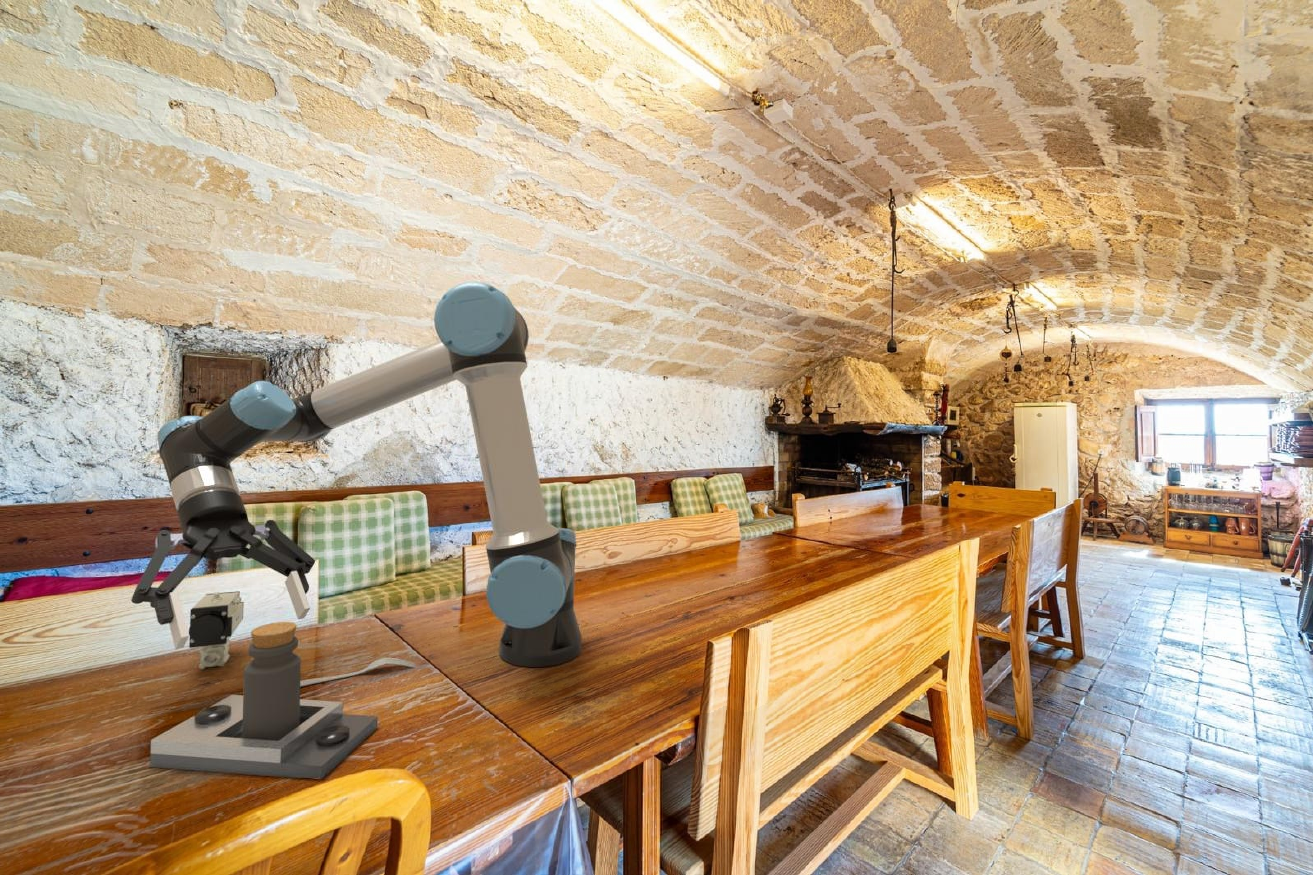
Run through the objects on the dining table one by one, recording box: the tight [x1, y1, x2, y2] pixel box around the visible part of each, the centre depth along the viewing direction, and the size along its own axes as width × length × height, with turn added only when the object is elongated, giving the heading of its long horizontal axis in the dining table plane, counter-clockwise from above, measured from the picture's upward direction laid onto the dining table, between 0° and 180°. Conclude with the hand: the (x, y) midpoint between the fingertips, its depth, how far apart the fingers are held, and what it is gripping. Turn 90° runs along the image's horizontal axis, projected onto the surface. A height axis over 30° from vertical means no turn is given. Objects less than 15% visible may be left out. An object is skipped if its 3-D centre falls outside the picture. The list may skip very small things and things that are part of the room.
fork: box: [300, 657, 416, 688], centre depth 87 cm, size 3×21×3 cm, turn 120°
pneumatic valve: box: [188, 590, 244, 670], centre depth 90 cm, size 6×12×12 cm, turn 28°
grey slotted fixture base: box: [149, 694, 379, 781], centre depth 67 cm, size 21×11×4 cm, turn 86°
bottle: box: [242, 621, 302, 741], centre depth 67 cm, size 6×6×15 cm
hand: (248, 627), depth 71 cm, fingers open, 13 cm apart
